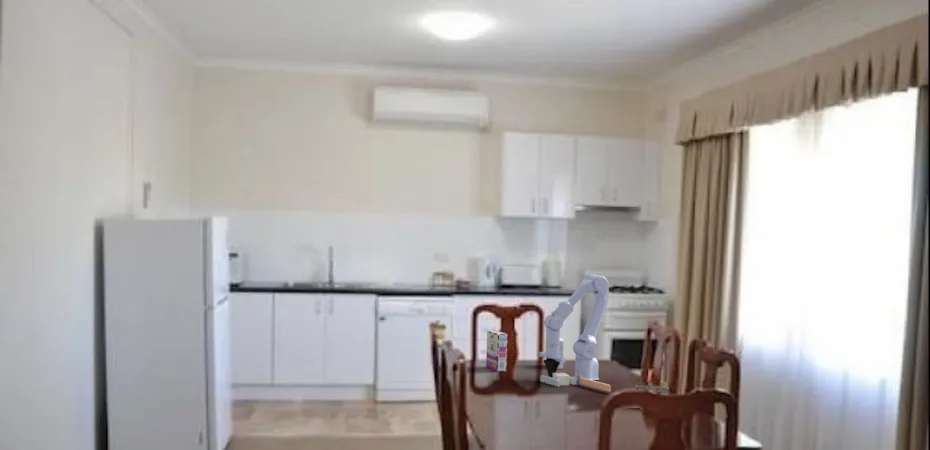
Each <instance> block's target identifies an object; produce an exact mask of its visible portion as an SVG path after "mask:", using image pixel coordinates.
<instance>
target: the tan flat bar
mask: <svg viewBox="0 0 930 450" xmlns="http://www.w3.org/2000/svg"><path fill="white" fill-rule="evenodd" d="M577 385H579V386H582V385H583V386H587V387H590V388H593V389H596V390H597V389H598V390H600V391H605V392H611V391H612V389H611V388H612V387H611V386H612V385H611V384H609V383H604V382H601V381H598V380H589V379H585V378H582V375H578V380H577Z"/></svg>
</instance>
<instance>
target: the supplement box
mask: <svg viewBox="0 0 930 450" xmlns="http://www.w3.org/2000/svg"><path fill="white" fill-rule="evenodd" d="M564 341H565V340H564V339H563V338H561V337H560V346H559V355H560V356H562V357H564ZM562 369H564V363H560V364H559V366H558V368H557V370H562Z"/></svg>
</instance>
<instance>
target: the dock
mask: <svg viewBox="0 0 930 450" xmlns="http://www.w3.org/2000/svg"><path fill="white" fill-rule="evenodd" d="M569 376H570V375H569ZM539 379H540V380H539V381H540V382H541V383H544V382H545V383H544V384H548V385H550V384H551V386H553V385H554V386H553V387H556V386H557V388H558V387H559V386H561V380H558V379H555V378H552V377H549V376H547V375H545V374H541V375H540V377H539ZM570 384H571V385H574V386H575V385H578V380H577V378H574V376H570V378H569V385H570ZM559 388H560V387H559Z"/></svg>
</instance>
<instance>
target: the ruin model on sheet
mask: <svg viewBox="0 0 930 450" xmlns="http://www.w3.org/2000/svg"><path fill="white" fill-rule="evenodd" d="M639 389H648V390H653V391H657V392H661V393H667V394H668V395H669V394H670V393H669V385H668V381H661V382H660V386H659V385H658V386H655V385H642V386H638V385H637V384H636V385H635V391H636V390H639Z"/></svg>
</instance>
